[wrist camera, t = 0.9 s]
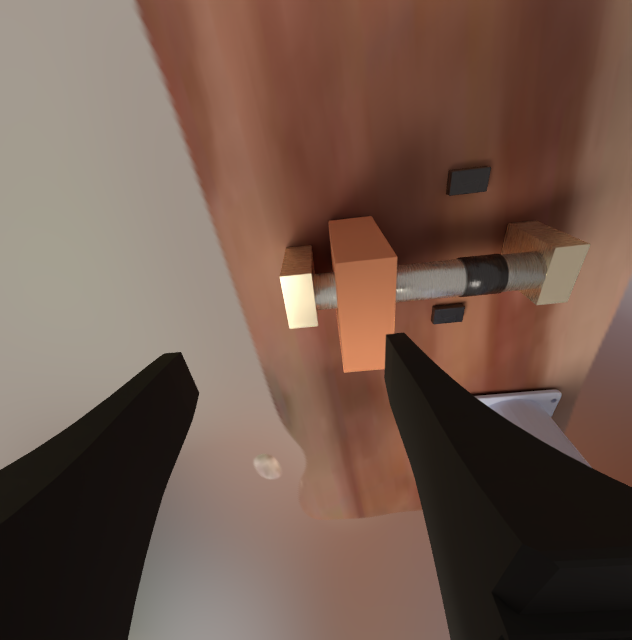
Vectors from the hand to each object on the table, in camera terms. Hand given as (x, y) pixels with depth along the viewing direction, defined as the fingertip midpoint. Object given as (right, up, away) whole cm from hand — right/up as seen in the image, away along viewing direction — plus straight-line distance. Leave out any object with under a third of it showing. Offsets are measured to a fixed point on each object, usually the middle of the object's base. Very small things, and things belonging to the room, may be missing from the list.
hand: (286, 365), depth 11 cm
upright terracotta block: (+3, +5, +9) cm, 10 cm away
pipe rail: (+7, +5, +8) cm, 12 cm away
